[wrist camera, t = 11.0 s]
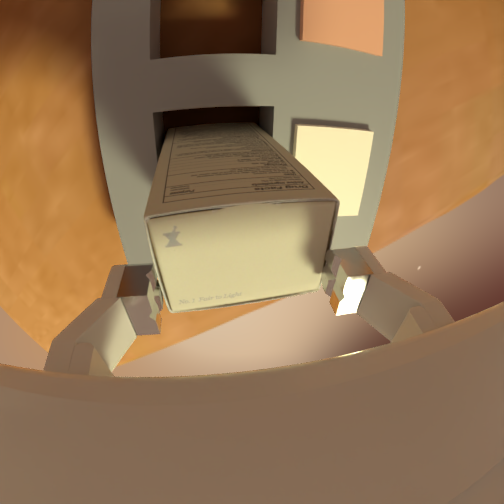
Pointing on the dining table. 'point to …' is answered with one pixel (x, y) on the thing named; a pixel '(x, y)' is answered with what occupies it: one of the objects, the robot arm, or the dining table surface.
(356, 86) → the socket plate
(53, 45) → the dining table surface
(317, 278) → the skincare box
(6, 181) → the dining table surface
